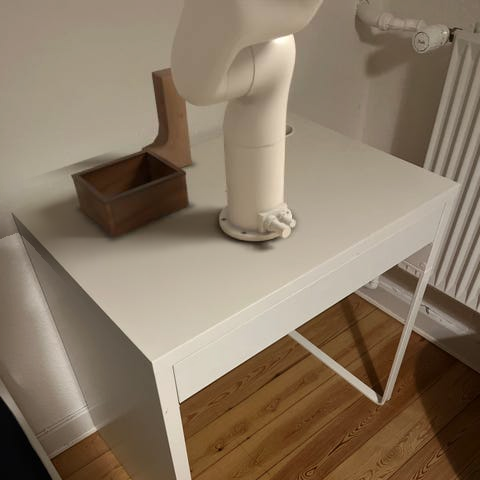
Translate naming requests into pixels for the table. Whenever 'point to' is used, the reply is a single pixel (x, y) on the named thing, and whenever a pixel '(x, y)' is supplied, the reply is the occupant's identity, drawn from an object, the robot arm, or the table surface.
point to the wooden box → (131, 191)
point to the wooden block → (170, 121)
